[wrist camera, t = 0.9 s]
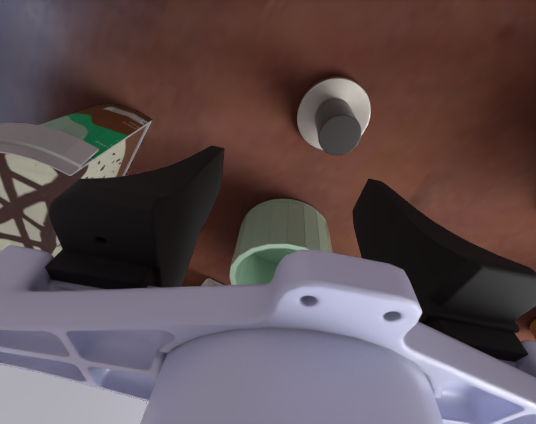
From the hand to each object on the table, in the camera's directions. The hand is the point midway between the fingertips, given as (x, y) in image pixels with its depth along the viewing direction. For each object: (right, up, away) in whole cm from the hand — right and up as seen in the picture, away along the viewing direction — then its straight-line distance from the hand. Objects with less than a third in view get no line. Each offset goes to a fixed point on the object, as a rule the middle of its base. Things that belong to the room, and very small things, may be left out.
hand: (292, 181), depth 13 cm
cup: (0, -4, +14) cm, 15 cm away
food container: (-16, +5, +9) cm, 19 cm away
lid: (+4, +6, +6) cm, 9 cm away
